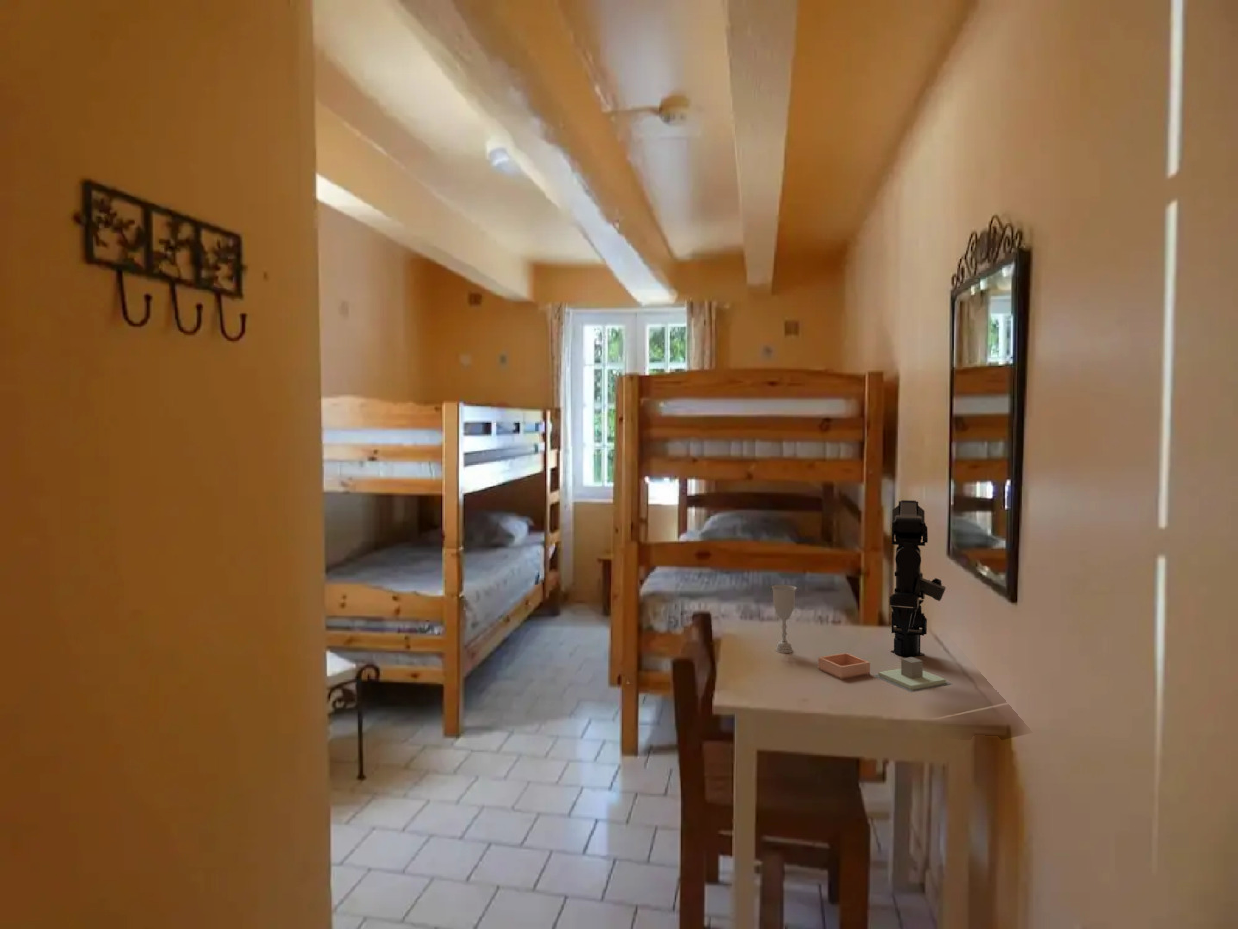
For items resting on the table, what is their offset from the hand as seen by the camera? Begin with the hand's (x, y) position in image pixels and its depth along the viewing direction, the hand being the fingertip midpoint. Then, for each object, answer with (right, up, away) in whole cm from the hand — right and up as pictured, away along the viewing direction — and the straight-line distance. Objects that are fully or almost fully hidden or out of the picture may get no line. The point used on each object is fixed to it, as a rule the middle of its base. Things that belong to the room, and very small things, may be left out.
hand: (907, 631), depth 187 cm
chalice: (-24, -12, +28) cm, 39 cm away
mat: (+1, -13, 0) cm, 13 cm away
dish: (-14, -12, +7) cm, 20 cm away
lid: (+1, -12, 0) cm, 12 cm away
